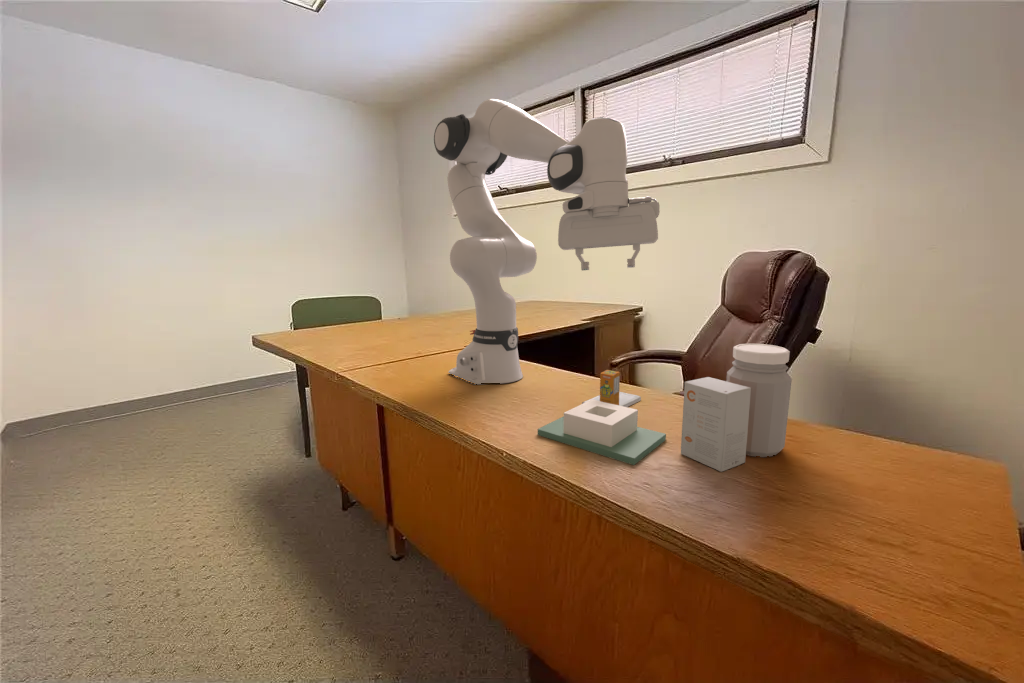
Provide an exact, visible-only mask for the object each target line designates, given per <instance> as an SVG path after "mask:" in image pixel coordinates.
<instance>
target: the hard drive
mask: <svg viewBox="0 0 1024 683" xmlns="http://www.w3.org/2000/svg"><path fill="white" fill-rule="evenodd" d="M591 399H592V400H597V401H600V394H599V395H597V396H594V397H592V398H590V399H588V400H587V399H586V400H585V401H582V402H581V404H583V403H585V402H587V401H589V400H591ZM641 400H642V397H641V396H640V395H637V394H632V393H626V392H622V391H619V406H623V407H628V408H630V406H633V405H634V404H636V403H638V402H640V401H641Z"/></svg>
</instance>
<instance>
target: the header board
mask: <svg viewBox="0 0 1024 683" xmlns="http://www.w3.org/2000/svg"><path fill="white" fill-rule="evenodd" d="M590 399H591V400H589V399H588V400H589V401H587V400H586V401H587V402H585V403H583V404H582V403H581V404H579V405H577V406H575V407H573V408H570V409H569V410H567V411H564V412H563V416H561V417H559V418H557V419H555V420H553V421H551V422H549V423H547V424H545V425H543V426H541V427H539V428H538V429H537V436H540V437H543V438H545V439H549V440H552V441H556V442H559V443H563V444H565V445H568V446H572V447H575V448H578V449H581V450H584V451H588V452H591V453H593V454H597V455H601V456H603V457H607V458H609V459H614V460H617V461H620V462H623V463H626V464H629V465H631V466H635V465H636V464H638V463H639V462H641V460H642V459H643V458H645V457H646V456H648V455H649V454H650V453H651V452H652V451H654V450H655V449H657V447H660V445H662V444H663V443H664V442H665V441H667V433H664V432H661V431H656V430H653V429H648V428H644V427H640V426H638V417H639V416H638V415H639V413H638V412H639V410H638V409H636V408H632V407H623V406H619V405H615V404H610V403H606V402H601V401H597V400H592V398H590Z"/></svg>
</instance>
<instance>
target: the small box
mask: <svg viewBox="0 0 1024 683" xmlns="http://www.w3.org/2000/svg"><path fill="white" fill-rule="evenodd" d="M750 394H751V388H750V387H746V386H742V385H738V384H734V383H731V382H727V381H726V380H724V379H723V380H721V379H718V378H714V377H710V376H706V377H701V378H696V379H692V380H687V381H684V390H683V404H682V406H683V407H682V424H681V440H680V441H681V443H680V454H681V455H683V456H685V457H687V458H689V459H692V460H694V461H696V462H697V463H698V462H699V463H701V464H703V465H705V466H707V467H710V468H712V469H714V470H716V471H719V472H720V473H723V472H725V471H727V470H729V469H732V468H735V467H737V466H740V465H743V464H744V463H746V457H747V455H746V445H747V433H748V419H749V407H750Z"/></svg>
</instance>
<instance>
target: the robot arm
mask: <svg viewBox="0 0 1024 683" xmlns="http://www.w3.org/2000/svg"><path fill="white" fill-rule="evenodd" d="M433 143H434V148H435V150H436V152H437V154H438V155H439V156H440V157H442V158H444V159H446V160H448V161H454V162H455V163H456V164H455V165H453V166H452V167H451V169H450V170H449V171H448V174H447V185H448V186H447V187H448V192H449V195H450V196H449V197H450V199H451V203H452V205H453V208H454V211H455V213H456V216H457V219H458V221H459V224H460V226H461V228H462V230H463V231H464V232H465V233H466V234H467V235H469V237H465V238H461V239H457V240H456V241H455V243H454V244H453V245H452V247H451V249H450V252H449V263H450V265H451V269H452V270H453V271H454V273H455V274H456V275H457V276H458V277H459V278H461V279H462V281H464V282H465V284H466V285H467V286H468V288H469V290H470V292H471V294H472V297H473V300H474V305H475V318H476V328H475V329H472V330H469V332H471V333H469V335H470V336H473V337H472V341H471V342H470V343H468V345H466V346H465V347H464V348H463V349H462V350H460V351H459V352H458V353H457V355H456V366H455V367H453V368H451V369H449V370H448V373H450V374H453V375H455V376H458V377H460V378H463V379H465V380H467V381H470V382H472V383H475V384H474V385H476V384H477V385H482V384H481V383H500V384H509V383H513V382H516V381H520V380H521V379H523V377H524V375H523V372H522V368H521V362H520V357H519V356H520V354H519V350H518V342H519V328H518V327H517V302H516V299H515V298H514V297H513V296H512V295H511V294H509V293H508V292H507V291H505V290H504V289H503V287H502V285H501V281H500V278H501V279H502V278H517V277H520V276H523V275H527V274H529V273H531V272H532V271H533V269H534V268H535V266H536V264H537V259H538V256H537V255H538V254H537V249H536V247H535V245H534V243H532V241H530V240H529V239H527V238H525V237H524V236H522V235H520V234H519V233H518V232H516V230H515V229H513V228H512V227H511V225H510V224H509V223H508V222H507V221H506V220H505V219H504V217H503V216H502V214H501V213H500V211H499V209H498V207H497V205H496V203H495V200H494V198H493V195H492V194H491V192H490V189H489V187H488V184H487V182H486V178H485V177H486V176H490V175H493V174H495V172H496V170H498V169H499V168H500V167H501V166H502V165H503V164H504V162H505V161H506V160H507V159H508V157H511V158H513V159H514V158H515V159H520V160H528V161H532V162H534V161H535V162H540V163H546V164H547V166H546V167H547V169H546V172H547V179H548V181H549V184H550V186H551V188H553V189H554V191H557V192H558V191H559V192H562V193H567V194H573V195H576V196H573V197H571V198H569V199H566V200H565V201H564V202H563V203H562V211H563V212H564V214H562V216H561V217H560V220H559V223H558V224H559V225H558V234H557V236H558V238H557V244H558V246H559V248H560V249H561V250H563V251H570V250H571V251H572V250H574V251H575V253H574V254H575V255H576V257H577V259H578V260H579V263H580V266H581V267H580V270H581V272H582V271H590V261H585V259H584V257H583V256H582V255H584V250H585V249H597V248H609V247H624V246H632V250H633V251H634V253H633V254H632V256H631V258H626V259H627V260H626V262H627V264H626V265H627V269H629V268H636V259H637V256H638V255H639V253H640V252H641V245H650V244H651V245H652V244H655V243H656V242H658V240H659V230H658V222H657V219H658V217H659V216H660V211H661V210H660V203H659V201H658V200H657V199H656V198H653V197H652V196H644V197H633V198H632V197H631V198H629V181H628V178H627V167H628V166H627V165H628V143H627V134H626V129H625V127H624V124H623V123H622V122H621V121H620V120H618V119H615V118H612V117H603V116H600V117H599V116H598V117H592V118H590V119H588V120H587V121H585V123H583V126H582V128H581V130H580V131H579V132H578V134H576V136H574V138H573V139H571V140H570V141H569V140H567V139H566V138H564V137H562V136H560V135H558V134H557V133H556V132H554V131H553V130H551V129H550V128H549V127H547V126H546V125H545V124H543V123H541V122H540V121H539V120H538V119H536V118H535V117H533V116H532V115H530V114H529V113H528V112H526V111H525V110H524V109H521V108H520V107H518V106H517V105H514V104H513V103H510V102H507V101H505V100H501V99H497V98H496V99H495V98H489V99H486V100H483V101H482V102H481V103H480V104H479V105H478V107H477V108H476V110H475V113H474V115H473V116H472V117H466V115H465V114H459V115H456V116H449V117H445V118H443V119H442V120H441V121H439V122H438V124H437V126H436V127H435V130H434V134H433ZM467 381H466V382H467ZM472 383H471V384H472Z"/></svg>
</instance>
